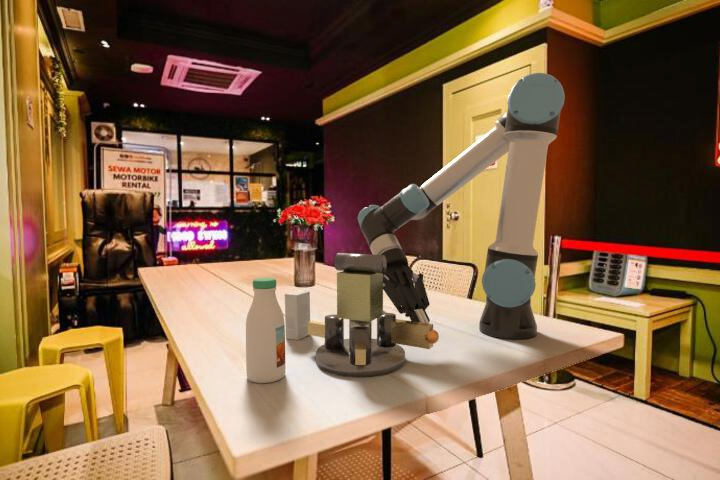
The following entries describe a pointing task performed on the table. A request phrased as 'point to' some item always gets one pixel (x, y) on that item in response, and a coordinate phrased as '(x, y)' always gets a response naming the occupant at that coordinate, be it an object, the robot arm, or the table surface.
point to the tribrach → (356, 321)
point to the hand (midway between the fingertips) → (428, 336)
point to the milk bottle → (265, 334)
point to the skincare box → (297, 314)
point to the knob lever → (404, 332)
